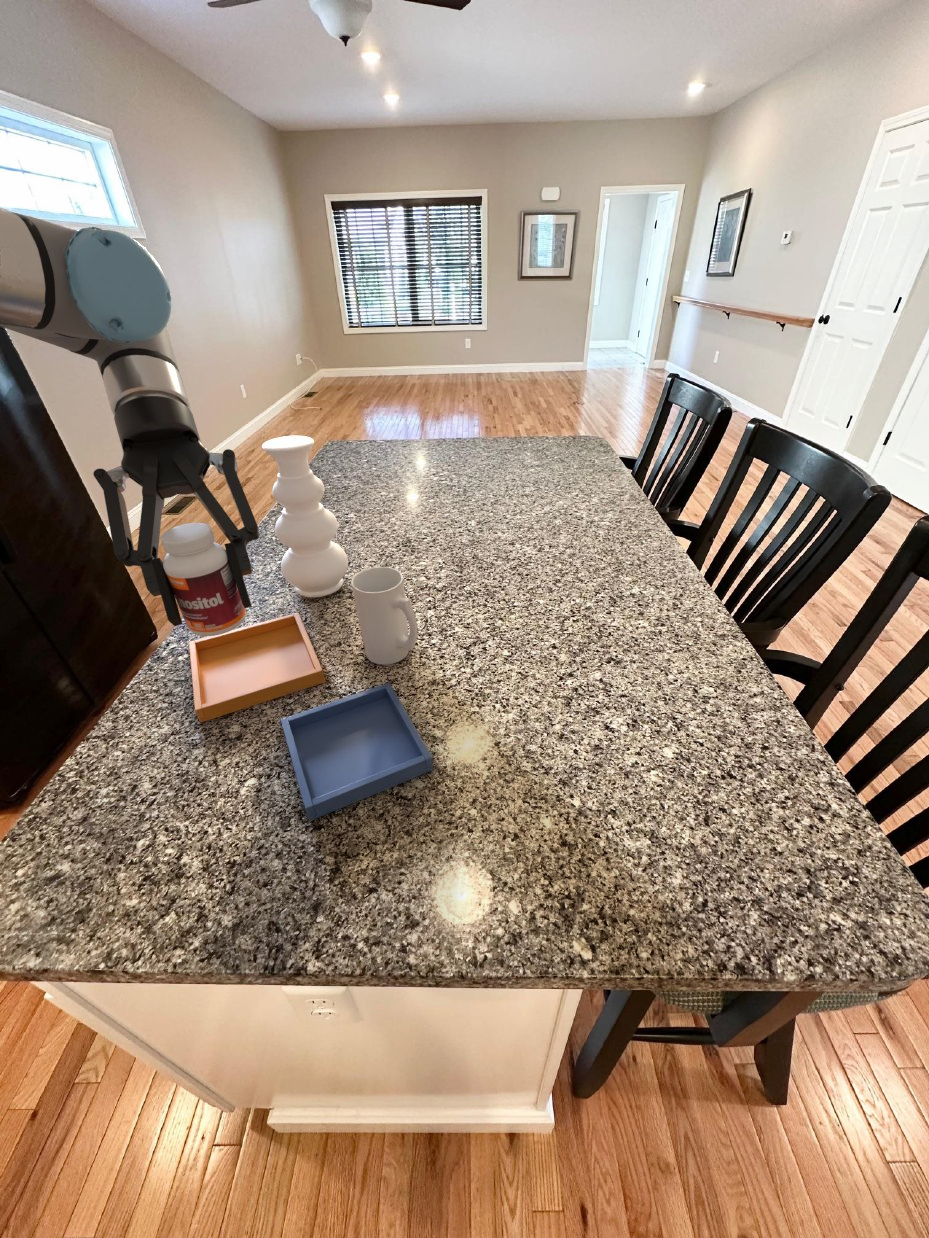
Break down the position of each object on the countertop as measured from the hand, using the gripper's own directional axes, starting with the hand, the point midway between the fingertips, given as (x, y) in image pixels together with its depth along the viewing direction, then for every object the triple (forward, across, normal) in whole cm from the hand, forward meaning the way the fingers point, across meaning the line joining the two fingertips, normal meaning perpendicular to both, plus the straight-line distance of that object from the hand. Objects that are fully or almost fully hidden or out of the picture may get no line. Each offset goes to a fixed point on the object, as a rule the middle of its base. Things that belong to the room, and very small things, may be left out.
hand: (212, 612), depth 53 cm
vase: (-8, -15, -32) cm, 36 cm away
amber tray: (+4, -2, -20) cm, 20 cm away
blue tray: (+18, -10, -5) cm, 22 cm away
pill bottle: (0, 0, -5) cm, 5 cm away
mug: (+9, -20, -15) cm, 26 cm away
